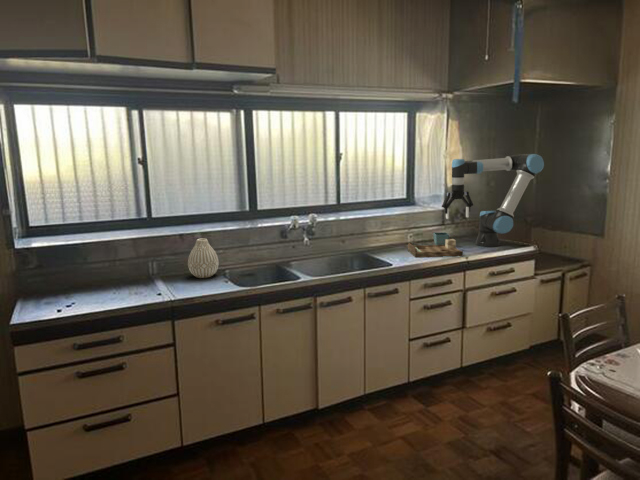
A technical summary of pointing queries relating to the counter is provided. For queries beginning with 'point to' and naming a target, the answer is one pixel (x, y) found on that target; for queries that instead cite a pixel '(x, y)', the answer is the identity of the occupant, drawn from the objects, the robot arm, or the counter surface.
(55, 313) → the counter surface
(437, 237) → the flower pot
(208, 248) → the vase
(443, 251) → the wooden tray
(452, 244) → the block
